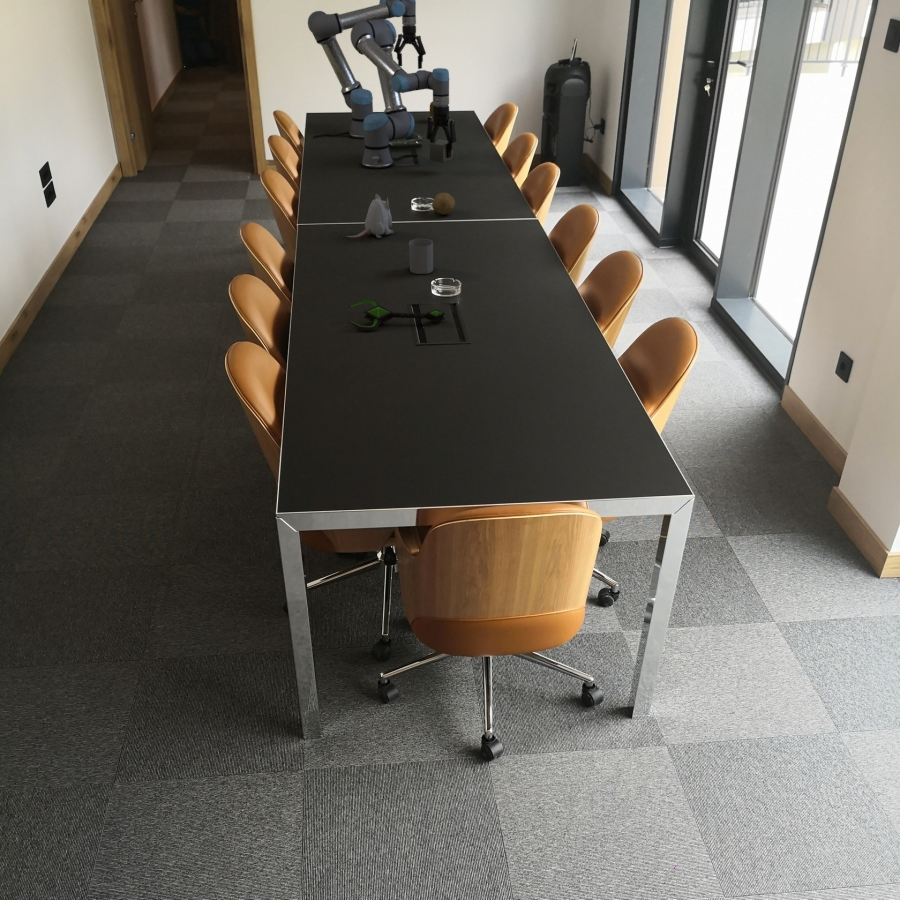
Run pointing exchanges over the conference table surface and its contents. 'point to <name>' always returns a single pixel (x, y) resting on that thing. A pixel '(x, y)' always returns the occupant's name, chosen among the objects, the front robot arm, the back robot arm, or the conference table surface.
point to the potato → (443, 203)
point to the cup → (421, 256)
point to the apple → (431, 110)
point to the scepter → (391, 315)
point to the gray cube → (439, 151)
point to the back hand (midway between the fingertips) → (410, 67)
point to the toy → (377, 219)
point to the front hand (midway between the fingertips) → (441, 156)
